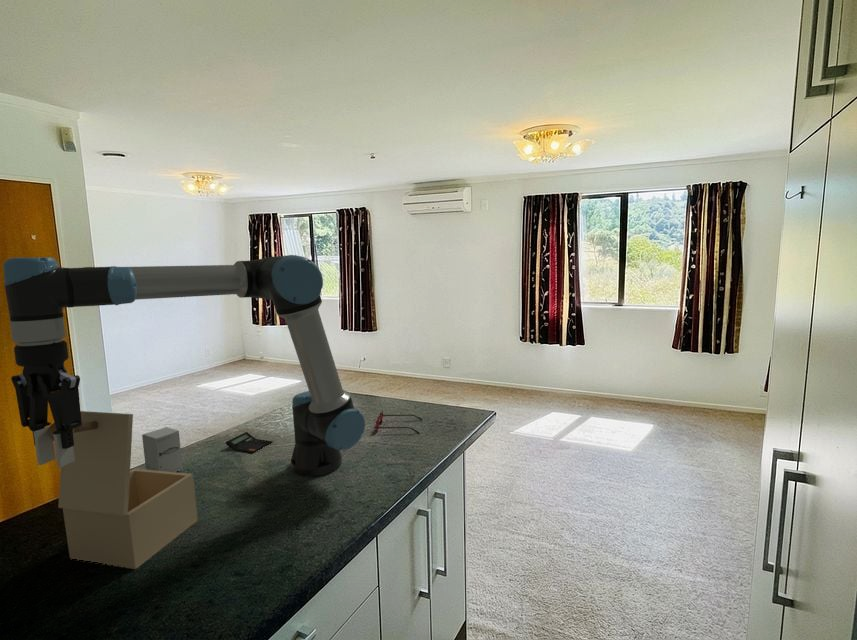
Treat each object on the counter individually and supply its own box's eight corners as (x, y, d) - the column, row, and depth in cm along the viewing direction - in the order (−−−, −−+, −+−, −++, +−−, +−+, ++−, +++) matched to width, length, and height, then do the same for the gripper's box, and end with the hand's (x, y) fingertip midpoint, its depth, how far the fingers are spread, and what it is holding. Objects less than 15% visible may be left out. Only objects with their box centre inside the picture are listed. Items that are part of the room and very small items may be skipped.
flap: (133, 414, 94) (86, 421, 85) (127, 513, 93) (80, 533, 83) (68, 410, 98) (17, 417, 88) (63, 506, 97) (10, 523, 87)
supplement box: (159, 480, 134) (154, 438, 132) (145, 474, 138) (141, 434, 136) (183, 469, 140) (179, 430, 138) (170, 464, 144) (166, 426, 142)
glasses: (380, 421, 178) (379, 408, 178) (422, 420, 177) (422, 408, 177) (374, 435, 165) (373, 421, 164) (420, 434, 163) (419, 421, 163)
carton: (197, 520, 112) (192, 474, 110) (135, 569, 95) (128, 514, 93) (139, 513, 116) (134, 468, 114) (70, 559, 99) (62, 506, 97)
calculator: (253, 454, 151) (252, 445, 150) (226, 450, 155) (225, 441, 154) (272, 443, 159) (272, 435, 159) (246, 439, 163) (245, 431, 163)
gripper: (96, 339, 86) (110, 458, 89) (26, 337, 90) (42, 451, 93) (56, 346, 79) (73, 475, 82) (-18, 344, 83) (0, 467, 86)
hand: (56, 462), depth 87 cm, fingers closed on flap, 4 cm apart
